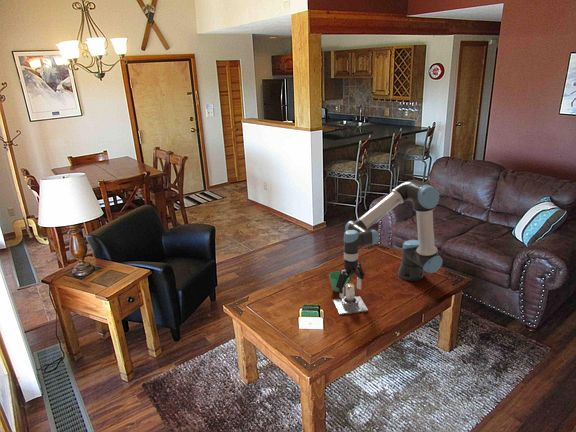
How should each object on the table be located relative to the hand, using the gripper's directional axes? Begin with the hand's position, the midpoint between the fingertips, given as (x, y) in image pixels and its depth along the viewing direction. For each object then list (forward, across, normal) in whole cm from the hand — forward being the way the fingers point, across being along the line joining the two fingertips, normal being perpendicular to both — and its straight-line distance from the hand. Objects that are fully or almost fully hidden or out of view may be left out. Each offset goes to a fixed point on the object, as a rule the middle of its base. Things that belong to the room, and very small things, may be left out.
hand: (350, 293), depth 221 cm
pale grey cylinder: (+7, 0, 0) cm, 7 cm away
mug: (+9, -9, -16) cm, 21 cm away
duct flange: (+8, 0, 0) cm, 8 cm away
